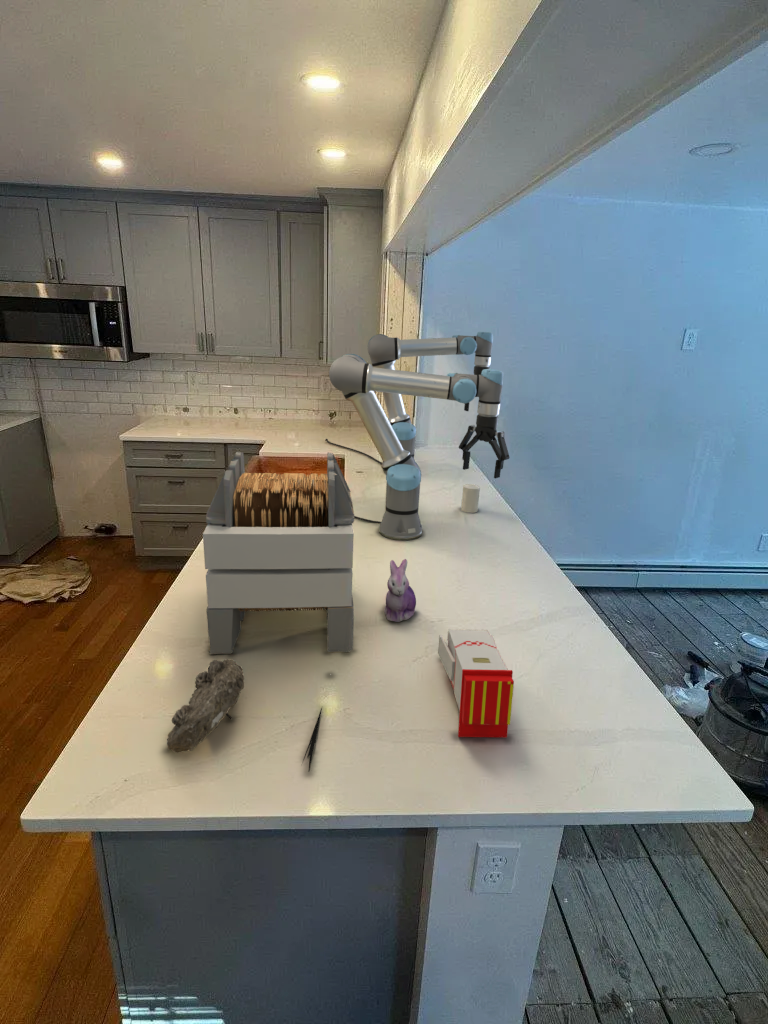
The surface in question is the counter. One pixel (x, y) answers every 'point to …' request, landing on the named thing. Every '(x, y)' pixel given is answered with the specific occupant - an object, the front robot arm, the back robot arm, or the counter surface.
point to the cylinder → (470, 498)
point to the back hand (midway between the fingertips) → (477, 410)
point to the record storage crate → (279, 550)
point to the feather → (313, 740)
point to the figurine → (399, 594)
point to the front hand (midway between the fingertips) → (480, 473)
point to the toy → (478, 682)
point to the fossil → (206, 705)
